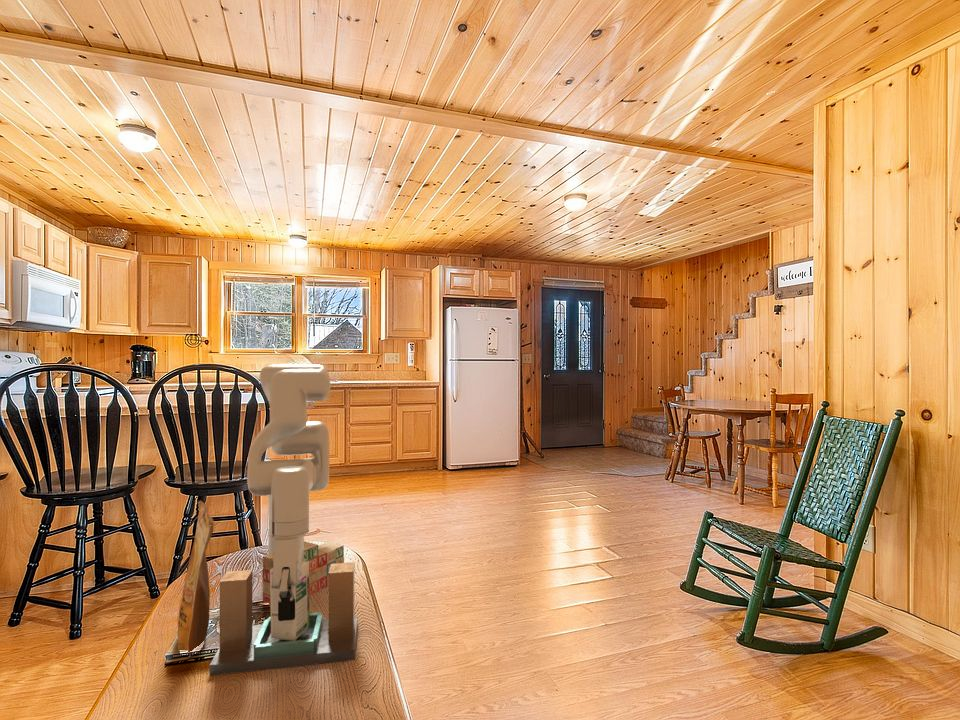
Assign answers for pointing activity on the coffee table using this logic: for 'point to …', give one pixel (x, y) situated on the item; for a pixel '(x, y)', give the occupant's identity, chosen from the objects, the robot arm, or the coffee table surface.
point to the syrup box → (302, 611)
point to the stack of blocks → (318, 566)
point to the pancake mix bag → (196, 588)
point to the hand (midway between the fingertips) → (290, 609)
